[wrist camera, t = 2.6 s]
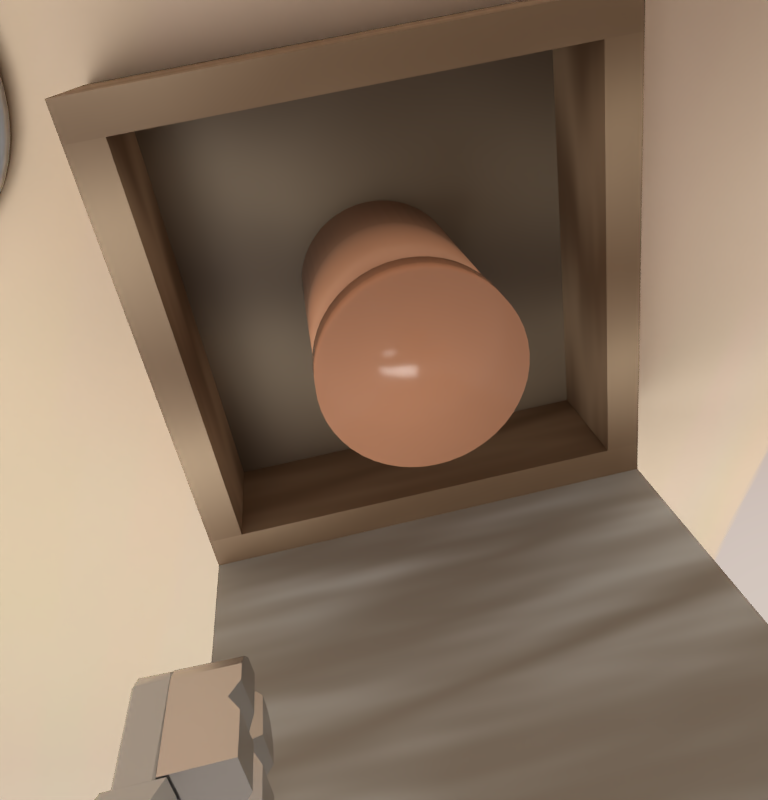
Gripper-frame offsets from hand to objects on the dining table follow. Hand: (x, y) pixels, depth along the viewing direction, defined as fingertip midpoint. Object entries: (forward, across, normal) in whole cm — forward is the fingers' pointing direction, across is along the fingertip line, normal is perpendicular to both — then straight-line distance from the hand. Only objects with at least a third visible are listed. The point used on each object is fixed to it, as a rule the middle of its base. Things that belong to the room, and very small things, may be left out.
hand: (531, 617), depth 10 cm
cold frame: (+15, 0, 0) cm, 15 cm away
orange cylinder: (+14, 0, 0) cm, 14 cm away
